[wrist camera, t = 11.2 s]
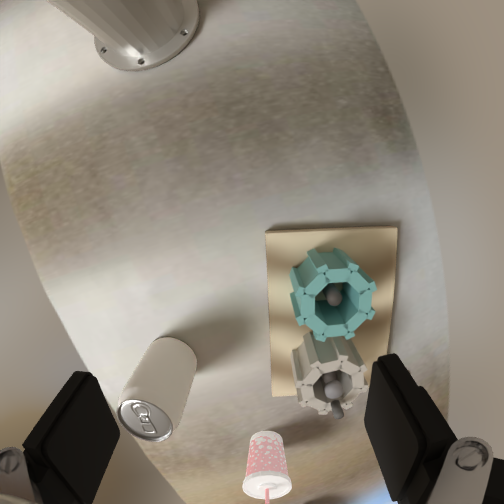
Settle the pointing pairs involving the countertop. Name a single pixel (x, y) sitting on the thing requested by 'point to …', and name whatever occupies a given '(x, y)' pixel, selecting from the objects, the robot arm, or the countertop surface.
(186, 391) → the can
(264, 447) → the beverage cup
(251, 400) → the countertop surface
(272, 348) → the board
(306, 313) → the teal gear
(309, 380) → the gear
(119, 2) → the robot arm
